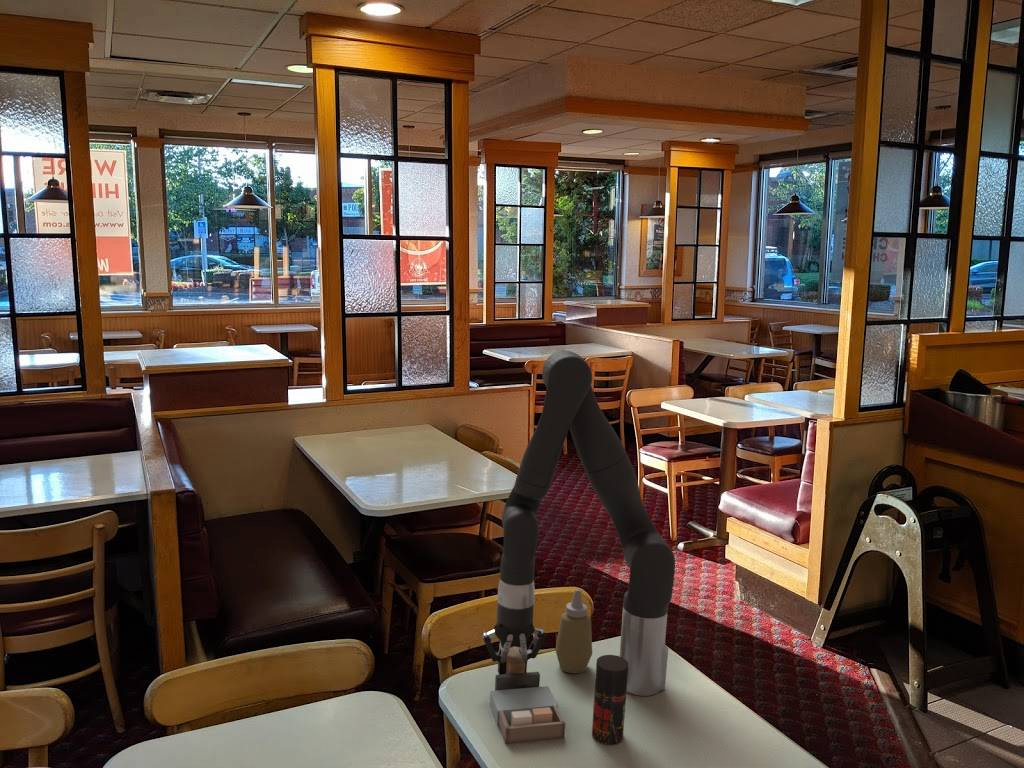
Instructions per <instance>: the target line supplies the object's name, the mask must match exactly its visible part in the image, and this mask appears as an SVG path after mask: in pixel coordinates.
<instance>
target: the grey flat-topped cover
mask: <svg viewBox="0 0 1024 768" xmlns="http://www.w3.org/2000/svg"><path fill="white" fill-rule="evenodd" d="M489 695H490V696H489V707H490V709H491V712H492V715H493V718H494V720H495V723H496V726H499V711H501V710H503V712H504V715H505V718H506V720H507V722H510V721H511V712H515V711H527V710H530V713H531V715H532V709H535V708H547V707H550V709H551V711H552V712H553V706H557V708H558V709H559V707H558V706H559V704H558V703H557V701H556V699H555V697H554V695H553V693H552V691H551V688H550V686H548V685H544V686H543V685H542V686H539V687H532V688H520V689H508V690H496V691H495V690H490V693H489Z"/></svg>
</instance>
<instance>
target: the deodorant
mask: <svg viewBox="0 0 1024 768" xmlns="http://www.w3.org/2000/svg"><path fill="white" fill-rule="evenodd" d="M627 677H628V662H627V661H626V660H625V659H624V658H622V657H620V655H616V654H615V655H614V654H605V655H601V656H599V657H598V658H597V659H596V664H595V680H594V681H595V682H594V693H593V694H594V695H593V696H594V698H593V710H592V727H591V737H592V739H593V740H594V741H595V742H596V743H599V744H600V745H605V746H615V745H616V746H617V745H618V744H620V743H622V742H623V739H624V727H625V714H626V702H627V692H626V691H627Z"/></svg>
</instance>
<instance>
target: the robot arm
mask: <svg viewBox="0 0 1024 768" xmlns="http://www.w3.org/2000/svg"><path fill="white" fill-rule="evenodd" d="M541 372H542V374H541V376H542V381H543V383H544V385H545V387H546V389H545V396H544V402H543V406H542V411H541V415H540V417H539V420H538V423H537V425H536V428H535V430H534V432H533V434H532V436H531V437H530V439H529V441H528V443H527V446H526V448H525V450H524V453H523V456H522V459H521V462H520V465H519V468H518V471H517V473H516V477H515V482H514V485H513V487H512V489H511V491H510V493H509V495H508V497H507V500H506V501H505V505H504V507H503V511H502V515H501V516H502V517H501V523H502V529H503V551H502V552H503V553H502V555H501V557H500V558H501V559H500V567H499V568H500V569H499V581H498V587H497V605H496V623H495V625H494V627H493V629H492V630H490V631H485V630H484V631H482V633H481V636H482V637H481V638H482V639H483V642H484V644H485V646H486V649H487V651H488V654H489V657H490V658H491V661H492V662H497V673H498V675H501V674H506V658H507V654H508V653H509V650H510V648H511V647H514V646H515V647H518V649H519V652H520V653H521V656H522V658H523V660H524V662H525V673H527V671H528V670H527V669H528V661H529V660H530V659H533V660H534V659H536V658H537V656H538V654H539V652H540V649H541V647H542V646H543V643H544V642H545V639H546V637H547V634H546V631H545V630H544V628H543V627H538V628H537V627H535V626H534V609H535V608H534V607H535V598H536V596H535V591H536V589H535V569H536V561H535V558H536V552H537V547H538V542H539V522H538V517H537V515H538V512H539V508H540V505H541V502H542V500H543V499H545V498H546V497H547V495H548V493H549V491H550V488H551V484H552V481H553V479H554V476H555V472H556V470H557V465H558V463H559V460H560V457H561V454H562V450H563V448H564V444H565V441H566V438H567V436H568V433H569V432H570V435H571V437H572V440H573V444H574V447H575V449H576V452H577V455H578V457H579V460H580V463H581V465H582V467H583V470H584V472H585V474H586V476H587V479H588V481H589V484H590V485H591V487H592V490H593V491H594V492H595V495H596V496H597V499H598V500H599V501H600V503H601V505H602V506H603V507H604V509H605V511H606V512H607V514H608V515H609V517H610V519H611V521H612V523H613V525H614V528H615V532H616V534H617V537H618V540H619V543H620V546H621V549H622V553H623V556H624V560H625V562H626V564H627V566H628V568H629V576H628V577H629V578H628V579H629V580H628V588H627V589H628V590H626V592H625V593H624V595H623V603H622V615H621V617H622V618H621V629H620V630H621V631H620V632H621V633H620V646H619V656H620V657H622V658H624V659H625V660H626V661H627V662H628V677H627V691H626V693H629V694H632V695H636V696H640V697H641V696H642V697H646V696H647V697H649V696H652V695H653V696H654V695H655V694H658V693H659V692H660V691H665V690H666V680H667V670H668V658H669V656H668V655H669V647H668V646H667V645H666V635H667V624H668V623H667V622H668V610H669V605H670V603H671V601H672V597H673V590H674V583H675V581H674V580H675V573H676V572H675V570H676V558H675V554H674V552H673V550H672V549H671V547H670V545H668V543H667V542H666V541H665V539H664V538H663V536H662V535H661V534H660V532H659V531H658V529H657V528H656V526H655V525H654V523H653V521H652V519H651V517H650V516H649V514H648V512H647V510H646V507H645V506H644V502H643V500H642V496H641V495H642V494H641V491H640V487H639V482H638V477H637V475H636V472H635V469H634V467H633V464H632V462H631V459H630V457H629V456H628V453H627V451H626V449H625V447H624V445H623V443H622V441H621V440H620V437H619V436H618V434H617V432H616V431H615V429H614V427H613V426H612V424H611V423H610V422H609V420H608V418H607V417H606V416H605V414H604V413H603V410H602V409H601V407H600V405H599V402H598V401H597V399H596V395H595V393H594V390H593V387H592V382H593V374H592V373H593V372H592V369H591V366H590V364H589V363H588V362H587V361H586V360H585V358H583V357H582V356H580V355H579V354H578V353H576V352H573V351H570V350H566V349H562V350H558V351H557V350H556V351H554V352H552V353H551V354H549V355H548V357H547V358H546V359H545V361H544V363H543V367H542V371H541ZM532 635H533V638H532V641H531V643H530V644H529V647H528V648H527V642H528V641H529V639H530V638H531V637H532ZM495 637H496V638H497V639H498V640H499V649H498V652H497V651H496V650H495V649H494V646H493V643H494V642H495Z"/></svg>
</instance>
